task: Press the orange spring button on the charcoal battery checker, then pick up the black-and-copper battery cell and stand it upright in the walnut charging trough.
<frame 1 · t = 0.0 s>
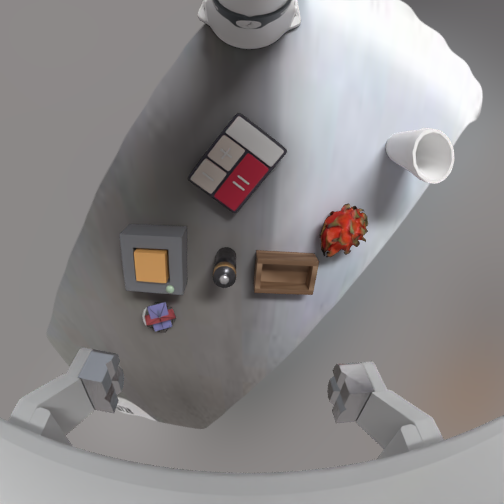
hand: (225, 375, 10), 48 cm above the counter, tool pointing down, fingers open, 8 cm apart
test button: (152, 264, 55), point 5 cm above the counter, slide at 0.0 cm
battery cell: (226, 256, 61), on the counter
foam cup: (398, 147, 53), on the counter
calculator: (236, 161, 54), on the counter
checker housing: (158, 252, 60), on the counter
geometric puzzle: (163, 308, 66), on the counter
charging trough: (283, 268, 63), on the counter
dragon fruit: (337, 225, 60), on the counter
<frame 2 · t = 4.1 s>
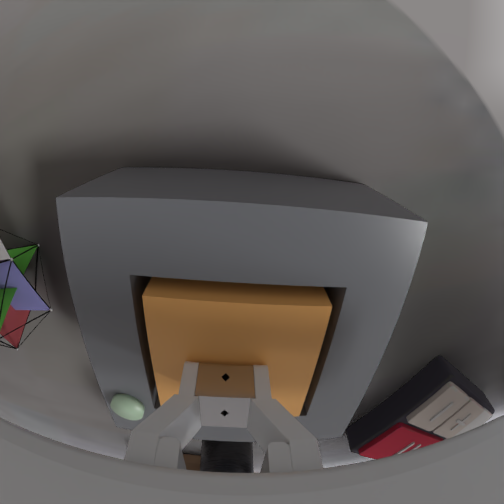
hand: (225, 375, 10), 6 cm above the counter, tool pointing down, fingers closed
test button: (233, 344, 12), point 5 cm above the counter, slide at -0.6 cm, touching gripper
battery cell: (227, 427, 22), on the counter
calculator: (423, 408, 24), on the counter
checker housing: (235, 284, 16), on the counter
geometric puzzle: (25, 263, 15), on the counter
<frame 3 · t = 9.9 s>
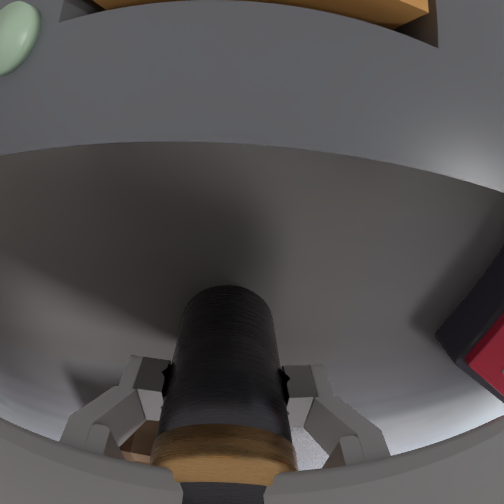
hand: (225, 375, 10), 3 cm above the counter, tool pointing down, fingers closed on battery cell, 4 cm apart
battery cell: (227, 324, 13), on the counter, touching gripper
charging trough: (196, 448, 18), on the counter
when the fingers open (6 cm above the counter, at t = 16.2 s): battery cell drops 1 cm, resting on charging trough.
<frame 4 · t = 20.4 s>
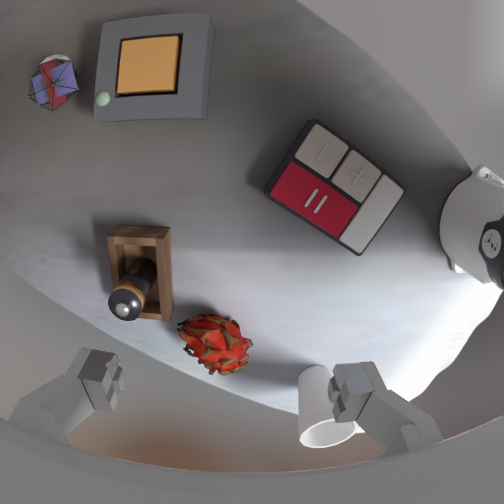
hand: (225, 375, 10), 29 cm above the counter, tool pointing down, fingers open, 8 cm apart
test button: (150, 66, 26), point 5 cm above the counter, slide at -0.6 cm
battery cell: (144, 270, 40), point 1 cm above the counter, touching charging trough
foam cup: (314, 376, 51), on the counter
calculator: (332, 185, 38), on the counter
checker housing: (161, 73, 30), on the counter
geometric puzzle: (66, 85, 30), on the counter
charging trough: (146, 267, 41), on the counter
dragon fruit: (215, 327, 45), on the counter
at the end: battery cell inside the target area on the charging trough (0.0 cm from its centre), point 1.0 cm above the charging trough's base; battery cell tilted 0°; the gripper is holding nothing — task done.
